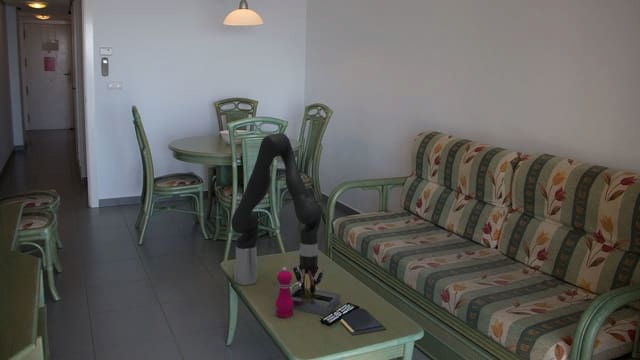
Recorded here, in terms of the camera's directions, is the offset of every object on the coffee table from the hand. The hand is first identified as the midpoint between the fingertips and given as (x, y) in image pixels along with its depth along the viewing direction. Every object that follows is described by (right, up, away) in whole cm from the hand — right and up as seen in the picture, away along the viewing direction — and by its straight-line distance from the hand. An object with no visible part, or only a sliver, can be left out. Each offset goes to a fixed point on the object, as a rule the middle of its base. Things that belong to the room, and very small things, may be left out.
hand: (308, 291), depth 234 cm
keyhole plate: (+2, -6, 0) cm, 6 cm away
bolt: (0, -5, +1) cm, 5 cm away
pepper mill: (-9, -8, -9) cm, 15 cm away
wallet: (+20, -10, -14) cm, 26 cm away
